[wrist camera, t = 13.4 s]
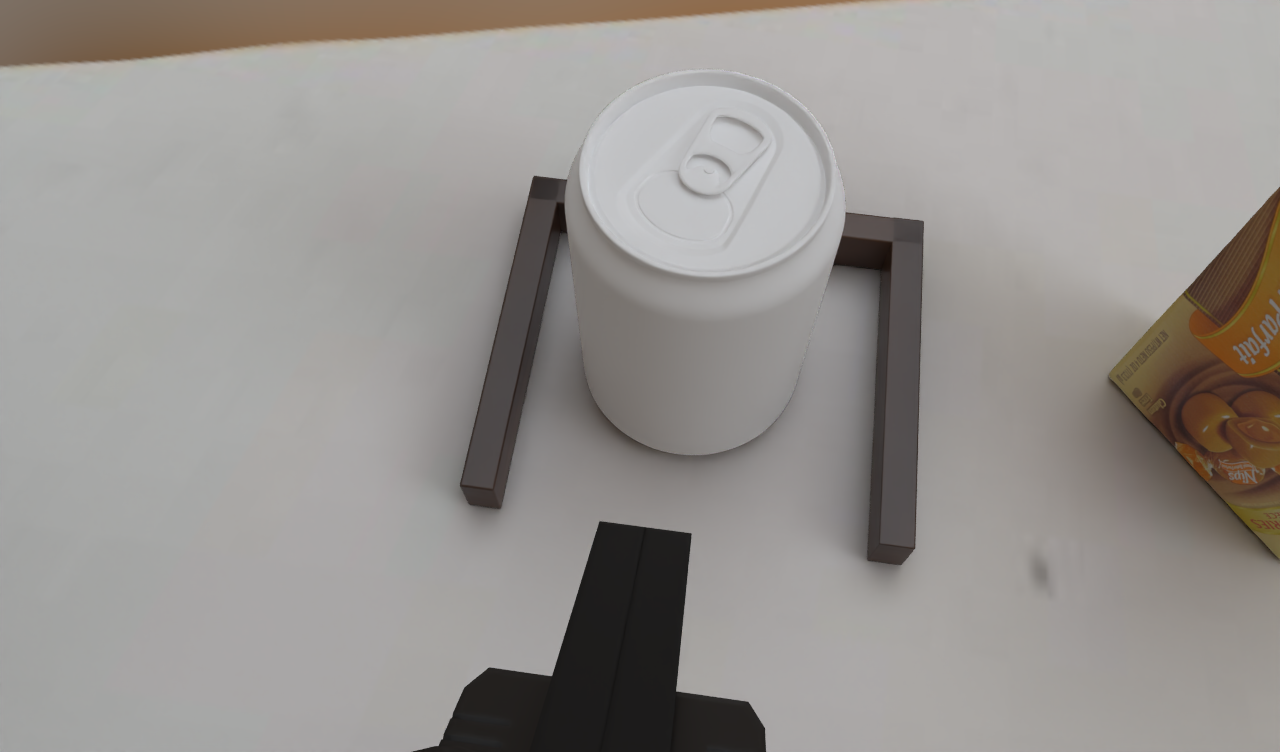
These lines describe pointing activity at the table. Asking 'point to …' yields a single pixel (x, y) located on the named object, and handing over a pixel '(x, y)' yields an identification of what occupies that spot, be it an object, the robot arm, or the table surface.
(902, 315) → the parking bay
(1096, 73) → the table surface
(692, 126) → the beverage can
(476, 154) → the table surface
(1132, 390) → the candy box
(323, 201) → the table surface
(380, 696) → the table surface
